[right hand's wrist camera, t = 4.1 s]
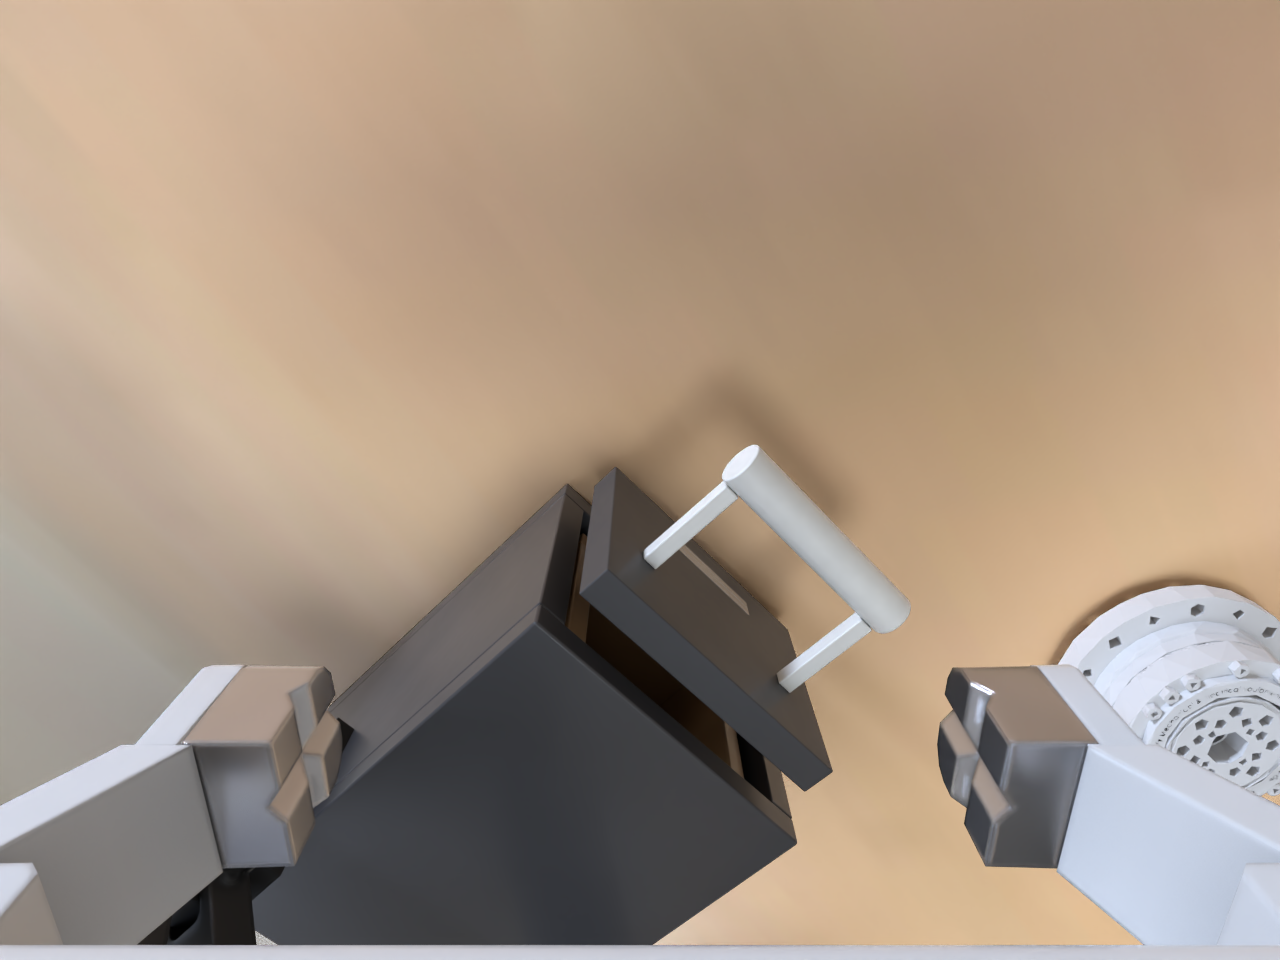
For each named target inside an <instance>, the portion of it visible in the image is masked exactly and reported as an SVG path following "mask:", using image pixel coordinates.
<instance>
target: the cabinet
mask: <svg viewBox="0 0 1280 960" xmlns="http://www.w3.org/2000/svg"><path fill="white" fill-rule="evenodd" d="M591 508H592V506H591V505H590V504H589V503H588V502H587V501H586V500H584V499H583V498H582V497H581V496H580V495H579V494H578V493H577V492H576V491H575V490H574V489H573V488H571V487H570V486H569V485H568V484H566V485H565V486H564V487H563V488H562V489H561V490H560V491H559V492H558V493H557V494H555V495H554V496H553V497H552V498H551V499H550V500H549V501H548V502H547V503H546V504H545V505H544V506H543V507H542V508H541V509H539V510H538V511H537V512H536V513H535V514H534V515H533V516H532V517H531V518H530V519H529V520H528V521H527V522H526V523H525V524H523V525H522V526H521V527H520V528H519V529H518V530H517V531H516V532H515V533H514V534H513V535H512V536H511V537H510V538H508V539H507V540H506V541H505V542H504V543H503V544H502V545H501V546H500V547H499V548H498V549H497V550H496V551H495V552H494V553H492V554H491V555H490V556H489V557H488V558H487V559H486V560H485V561H484V562H483V563H482V564H481V565H480V566H479V567H478V568H476V569H475V570H474V571H473V572H472V573H471V574H470V575H469V576H468V577H467V578H466V579H465V580H464V581H463V582H462V583H460V584H459V585H458V586H457V587H456V588H455V589H454V590H453V591H452V592H451V593H450V594H449V595H448V596H447V597H446V598H444V599H443V600H442V601H441V602H440V603H439V604H438V605H437V606H436V607H435V608H434V609H433V610H432V611H431V612H430V613H428V614H427V615H426V616H425V617H424V618H423V619H422V620H421V621H420V622H419V623H418V624H417V625H416V626H415V627H414V628H412V629H411V630H410V631H409V632H408V633H407V634H406V635H405V636H404V637H403V638H402V639H401V640H400V641H399V642H398V643H396V644H395V645H394V646H393V647H392V648H391V649H390V650H389V651H388V652H387V653H386V654H385V655H384V656H383V657H381V658H380V659H379V660H378V661H377V662H376V663H375V664H374V665H373V666H372V667H371V668H370V669H369V670H368V671H367V672H365V673H364V674H363V675H362V676H361V677H360V678H359V679H358V680H357V681H356V682H355V683H354V684H353V685H352V686H351V687H349V688H348V689H347V690H346V691H345V692H344V693H343V694H342V695H341V696H340V697H339V698H338V699H337V700H336V701H335V702H333V703H332V704H331V705H330V706H329V708H328V711H329V712H330V713H331V714H332V715H333V716H334V717H335V718H336V719H337V718H338V717H339V718H340V719H341V720H343V721H344V722H345V723H347V724H348V725H349V726H351V727H352V728H354V731H353V733H352V735H351V737H350V739H349V741H348V743H347V745H346V747H345V749H344V751H343V753H342V760H341V764H340V769H339V773H338V778H337V781H336V783H335V785H334V787H333V789H332V792H331V794H330V796H329V797H328V798H327V799H325V800H324V801H322V802H321V803H320V804H318V805H317V806H315V808H314V816H315V822H316V824H315V826H314V828H313V830H312V832H311V834H310V836H309V838H308V840H307V842H306V844H305V846H304V848H303V850H302V852H301V854H300V856H299V858H298V860H297V862H296V864H295V866H287V867H285V868H284V870H283V872H282V874H281V876H280V877H279V878H278V879H276V880H275V881H274V882H273V883H272V884H271V885H269V886H268V887H267V888H266V889H265V890H264V891H263V892H261V893H260V894H259V895H258V896H257V897H256V898H255V899H253V900H252V907H253V917H254V927H255V931H257V932H258V933H260V934H262V935H263V936H265V937H266V938H268V939H270V940H271V941H273V942H274V943H276V944H277V945H653V944H654V943H656V942H657V941H659V940H660V939H662V938H663V937H664V936H666V935H667V934H669V933H670V932H672V931H673V930H675V929H676V928H677V927H679V926H680V925H682V924H683V923H685V922H686V921H687V920H689V919H690V918H692V917H693V916H695V915H696V914H697V913H699V912H700V911H702V910H703V909H705V908H706V907H707V906H709V905H710V904H712V903H713V902H715V901H716V900H717V899H719V898H720V897H722V896H723V895H725V894H726V893H728V892H729V891H730V890H732V889H733V888H735V887H736V886H738V885H739V884H740V883H742V882H743V881H745V880H746V879H748V878H749V877H750V876H752V875H753V874H755V873H756V872H758V871H759V870H760V869H762V868H763V867H765V866H766V865H768V864H769V863H771V862H772V861H773V860H775V859H776V858H778V857H779V856H781V855H782V854H783V853H785V852H786V851H788V850H789V849H791V848H792V847H793V846H795V845H796V844H797V839H796V835H795V831H794V826H793V822H792V820H791V819H792V816H791V812H790V808H789V803H788V799H787V795H786V791H785V786H784V782H783V778H782V773H781V771H780V770H779V769H778V768H777V767H776V766H775V765H774V764H772V763H771V762H770V761H769V760H768V759H767V758H766V757H764V756H763V755H762V754H761V753H760V752H759V751H758V750H756V749H755V748H754V747H753V746H752V745H751V744H750V743H749V742H747V741H746V740H745V739H744V738H743V737H742V736H741V735H739V734H738V733H737V732H736V733H737V739H738V745H739V751H740V757H741V763H742V769H743V774H744V778H742V777H741V776H740V775H739V774H738V773H737V772H735V771H734V770H733V769H732V768H731V767H730V766H728V765H727V764H726V763H725V762H724V761H723V760H721V759H720V758H719V757H718V756H717V755H716V754H714V753H713V752H712V751H711V750H710V749H709V748H707V747H706V746H705V745H704V744H703V743H702V742H700V741H699V740H698V739H697V738H696V737H695V736H693V735H692V734H691V733H690V732H689V731H688V730H686V729H685V728H684V727H683V726H682V725H681V724H679V723H678V722H677V721H676V720H675V719H674V718H672V717H671V716H670V715H669V714H668V713H667V712H665V711H664V710H663V709H662V708H661V707H660V706H658V705H657V704H656V703H655V702H654V701H653V700H651V699H650V698H649V697H648V696H647V695H646V694H644V693H643V692H642V691H641V690H640V689H639V688H637V687H636V686H635V685H634V684H633V683H632V682H630V681H629V680H628V679H627V678H626V677H625V676H623V675H622V674H621V673H620V672H619V671H618V670H616V669H615V668H614V667H613V666H612V665H611V664H609V663H608V662H607V661H606V660H605V659H604V658H602V657H601V656H600V655H599V654H598V653H597V652H595V651H594V650H593V649H592V648H591V647H590V646H588V645H587V644H586V643H585V642H584V641H583V640H581V639H580V638H579V637H578V636H577V635H576V634H574V633H573V632H572V631H571V630H570V629H569V628H567V627H566V626H565V621H566V615H567V609H568V603H569V597H570V590H571V584H572V578H573V572H574V566H575V560H576V554H577V548H578V542H579V536H580V535H581V534H585V535H586V536H588V529H589V522H590V515H591Z"/></svg>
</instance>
